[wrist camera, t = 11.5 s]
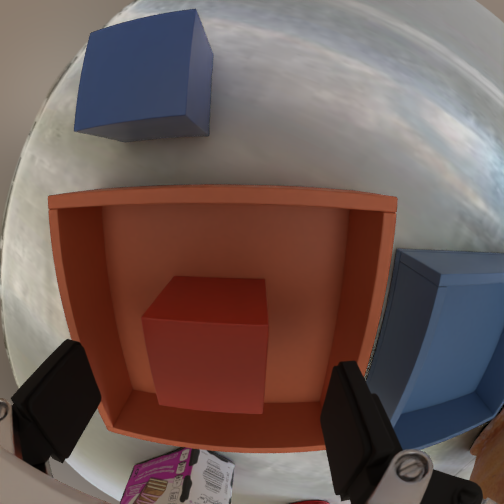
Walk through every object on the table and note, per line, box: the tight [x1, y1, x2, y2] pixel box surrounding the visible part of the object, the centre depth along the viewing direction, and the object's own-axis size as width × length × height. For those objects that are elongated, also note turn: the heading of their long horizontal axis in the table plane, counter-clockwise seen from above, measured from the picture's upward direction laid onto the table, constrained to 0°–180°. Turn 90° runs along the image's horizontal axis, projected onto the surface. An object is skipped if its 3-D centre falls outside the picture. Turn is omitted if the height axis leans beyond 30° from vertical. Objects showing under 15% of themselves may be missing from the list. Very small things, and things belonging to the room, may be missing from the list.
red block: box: [141, 276, 269, 414], centre depth 12 cm, size 5×5×5 cm
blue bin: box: [366, 249, 504, 450], centre depth 14 cm, size 14×14×5 cm
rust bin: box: [48, 184, 398, 453], centre depth 13 cm, size 14×14×5 cm
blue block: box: [74, 9, 213, 142], centre depth 10 cm, size 5×5×5 cm
